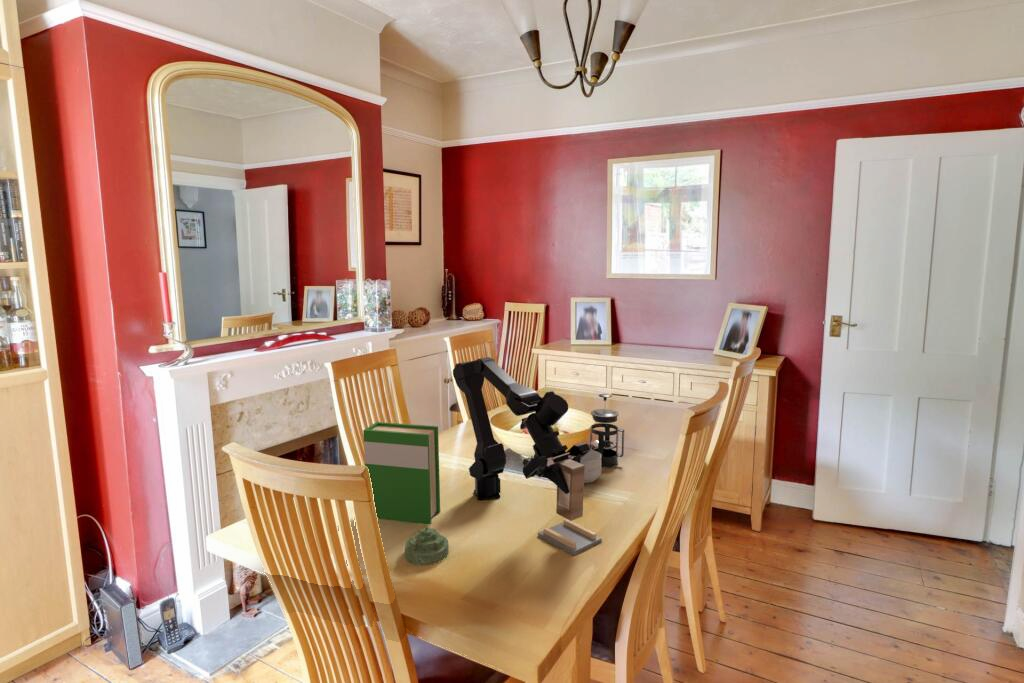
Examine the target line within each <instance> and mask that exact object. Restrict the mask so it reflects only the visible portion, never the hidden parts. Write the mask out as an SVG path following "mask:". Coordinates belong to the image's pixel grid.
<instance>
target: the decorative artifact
mask: <svg viewBox="0 0 1024 683" xmlns="http://www.w3.org/2000/svg"><path fill="white" fill-rule="evenodd" d="M449 548H450V546H449V540H448V538H447V537H446V536H444V535H441V534H440V533H439V532H438V531H437V530H436V529H435V528H431V527H429V526H427V525H425V527H424V528H421V529H418V532H417V533H415V534H414V535H413V536H412V537H410V538H409V539H408V540H407V541H406V542H405V544H404V549H405V550H404V553H405V556H406V557H405V559H406V560H407V561H408V562H409V563H410V564H413V565H418V566H431V565H430V564H432V565H435V564H434V563H436V564H439V563H440V562H439V561H441V560H443V559H444V558H445V559H447V558H448V556H449V554H448V553H450V551H449ZM447 555H448V556H447ZM445 559H444V560H445ZM444 560H443V561H444ZM438 562H439V563H438ZM441 562H442V561H441Z"/></svg>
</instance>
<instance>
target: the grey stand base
mask: <svg viewBox="0 0 1024 683" xmlns="http://www.w3.org/2000/svg"><path fill="white" fill-rule="evenodd" d="M537 536H538V537H539V538H541V539H543V540H544V539H545V540H544V541H545V542H548V543H549V544H551V545H554V546H555V547H557V548H559V549H561V550H563V551H564V552H566V553H568V554H569V555H571V556H575V555H577V554H579V553H580V552H583V551H585V550H586V549H589V548H590V547H593V546H595V545H597V544H599V543H601V542H602V541H603V538H602V537H601V536H598V535H597V532H594V531H592V530H590V529H588V528H587V527H584V526H583V525H580V524H578V523H576V522H575V521H573V520H572V521H570V520H568V519H566V518H564V520H563V521H562V522H560V523H557V524H555V525H553V526H550V527H544V528H543V530H541V531H539V532H538V533H537Z"/></svg>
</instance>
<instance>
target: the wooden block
mask: <svg viewBox="0 0 1024 683" xmlns="http://www.w3.org/2000/svg"><path fill="white" fill-rule="evenodd" d="M558 463H559V465H560V468H561V471H562V473H563V475H564V478H565V480H566V483H567V486H568V489H569V493H568V494H565V493H564V492H563V491H562V490H561V489H560V488H559V487H558V486H557V485H556V508H555V510H556V512H555V513H556V514H557V515H559V516H560V517H562V518H564V519H568V520H570V521H572V522H573V521H574V520H577V519H579V518H582V517H583V516H584V515H583V514H584V495H585V494H584V490H585V483H584V470H585V465H583V464H581V463H578V462H576V461H573V460H571V459H568V460H565V461H562V462H558Z"/></svg>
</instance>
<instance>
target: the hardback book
mask: <svg viewBox="0 0 1024 683" xmlns="http://www.w3.org/2000/svg"><path fill="white" fill-rule="evenodd" d="M362 432H363V450H364V452H363V453H364V467H365V466H367V467H368V469H369V473H370V478H371V482H372V488H373V494H374V502H375V507H376V513H377V517H378V520H384V521H385V520H386V521H393V520H395V522H405V523H410V522H411V523H412V524H419V523H420V524H421V525H427V524H430V525H431V524H432V517H433V516H434V515H435V514H438V513H439V514H441V490H440V489H441V486H440V483H441V482H440V455H439V453H440V449H439V448H440V447H439V444H440V443H439V426H436V425H424V424H423V425H421V424H409V423H397V422H395V423H394V422H384V421H383V422H382V421H381V422H380V421H376V422H374V423H373V424H371V425H369V426H368V427H366V428H364V429H363V431H362Z"/></svg>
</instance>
